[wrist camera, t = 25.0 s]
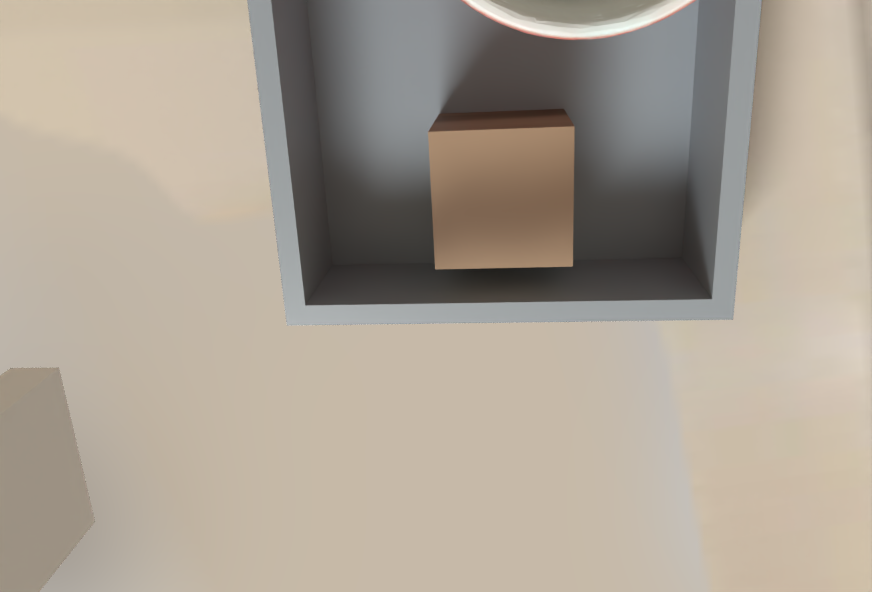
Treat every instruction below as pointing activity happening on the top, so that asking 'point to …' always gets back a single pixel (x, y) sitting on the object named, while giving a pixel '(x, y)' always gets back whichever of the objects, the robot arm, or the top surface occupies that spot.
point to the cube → (502, 189)
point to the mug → (577, 16)
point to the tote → (503, 91)
